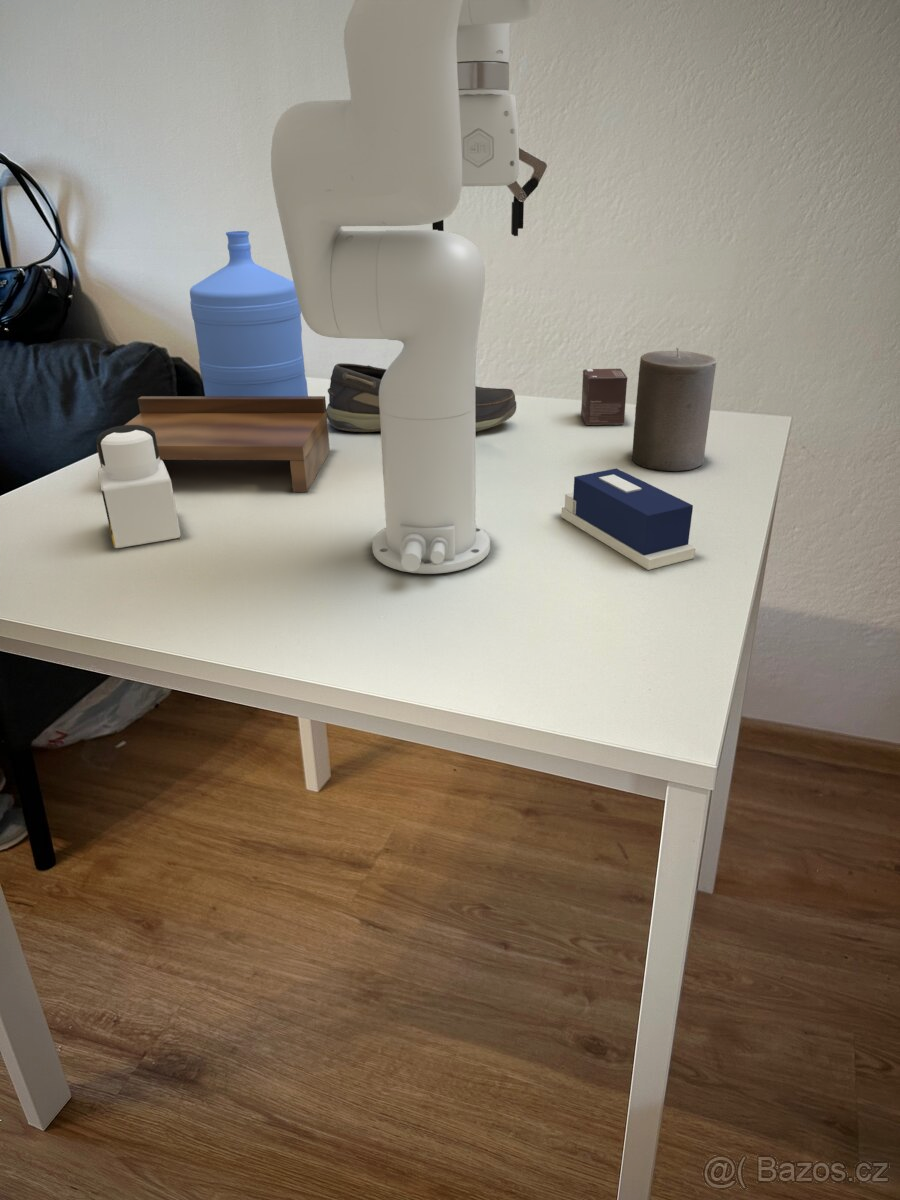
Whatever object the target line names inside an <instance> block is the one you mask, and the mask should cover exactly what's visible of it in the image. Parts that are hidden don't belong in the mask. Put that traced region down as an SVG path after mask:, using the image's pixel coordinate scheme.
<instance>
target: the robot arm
mask: <svg viewBox="0 0 900 1200" xmlns="http://www.w3.org/2000/svg"><path fill="white" fill-rule="evenodd" d="M545 3H546V0H354V1H353V4H352V6H351V8H350V11H349V13H348V15H347V18H346V20H345V21H346V22H345V26H344V30H343V49H344V54H345V60H346V69H347V76H348V85H349V93H350V99H331V100H310V101H304V102H300V103H296V104H294V105H292V106H290V107H289V108H287V109H286V110H285V111H283V113H282V114H281V115H280V117H279V118H278V120H277V122H276V124H275V127H274V129H273V135H272V139H271V150H270V168H271V169H270V171H271V178H272V179H271V180H272V186H273V187H272V188H273V192H274V197H275V198H274V199H275V203H276V207H277V212H278V217H279V221H280V227H281V229H282V230H281V231H282V235H283V241H284V244H285V248H286V249H285V250H286V255H287V258H288V263H289V268H290V273H291V277H292V281H293V282H294V286H295V290H296V295H297V299H298V303H299V306H300V310H301V316H302V317H303V320H304V322H305V324H306V325H307V327H309V328H310V330H311V331H313V332H314V333H315V334H317V335H319V336H322V337H327V338H333V339H334V338H335V339H357V340H358V339H361V340H363V339H364V340H373V339H374V340H388V341H398V342H401V343H402V344H403V347H402V349H401V350H400V352H399V353H398V355H397V356H396V357H395V358H394V359H393V361H392V362H391V363H390V364H389V366H388V367H387V368H386V369H387V370H386V372H385V373H384V375H383V377H382V380H381V383H380V388H379V408H380V425H381V431H380V440H381V441H380V442H381V443H380V444H381V455H382V456H381V459H382V477H383V496H384V514H385V527H384V528H382V529H381V530H380V531H378V532H377V533H376V534H375V536H374V537H373V539H372V541H371V544H372V554H373V556H374V557H375V559H376V560H377V561H378V562H379V563H381V564H383V565H384V566H386V567H388V568H391V569H393V570H397V571H400V572H404V573H405V572H406V573H411V574H419V575H420V574H421V575H422V574H423V575H437V574H444V573H445V574H446V573H453V572H457V571H462V570H464V569H468V568H470V567H472V566H475V565H477V564H478V563H480V562H482V561H483V560H485V558H486V557H487V556H488V555H489V553H490V551H491V538H490V535H489V534H488V533H487V531H486V530H485V529H483V528H482V527H481V526H478V525H477V524H476V523H477V521H476V517H477V516H476V511H477V510H476V509H477V507H476V503H477V502H476V501H477V499H476V490H477V488H476V487H477V486H476V483H477V482H476V481H477V479H476V476H477V475H476V474H477V473H476V470H477V469H476V467H477V466H476V465H477V464H476V461H477V460H476V456H477V455H476V453H477V452H476V450H477V449H476V432H475V386H476V379H477V376H476V375H477V373H476V372H477V350H478V343H479V342H478V341H479V331H480V323H481V316H482V309H483V304H484V303H483V302H484V297H485V296H484V295H485V286H486V268H485V261H484V259H483V256H482V254H481V251H480V250H479V248H478V247H477V246H476V244H474V242H472V241H471V240H470V239H468V238H467V237H465V236H463V235H461V234H458V233H454V232H450V231H445V229H444V220H446V219H447V218H449V217H450V216H451V215H452V214H453V212H454V211H455V210H456V209H457V206H458V204H459V202H460V200H461V199H460V198H461V193H462V187H502V186H503V187H504V186H506V187H507V188H508V190H509V191H510V192H511V193H512V195H513V201H511V217H510V218H511V221H510V222H511V225H510V233H511V235H512V236H513V237H518V236H519V230H521V229H522V230H523V229H524V215H525V213H524V211H525V210H524V208H525V201H526V200H527V199H528V197H529V196H530V195H531V194H532V193H533V192H534V191H535V190H536V189H537V188H538V187H539V183H540V182H541V180H542V179H543V176H544V174H545V172H546V170H547V168H548V165H547V162H546V161H544V160H542V159H540V158H539V157H537V156H535V155H534V154H532V153H530V152H528V151H526V150H525V149H523V148H522V147H520V138H519V137H520V136H519V133H520V132H519V118H518V117H519V116H518V109H517V108H518V107H517V106H518V105H517V101H516V100H517V99H516V95H515V94H510V91H509V90H510V40H511V39H510V37H511V35H510V33H511V32H510V31H511V24H523V23H528V22H530V21H532V20H534V19H536V18H537V17H538V16H539V15H540V13H541V12H542V10H543V8H544V6H545ZM520 162H522V163H523V164H525V165H527V166H529V167H531V168H532V173H531V176H530V178H529V179H528V180H527V181H526V183H524V184H523V185H522V187H521V185H520V184H519V183H518V181H517V180H518V178H519V173H520V172H519V170H520ZM430 224H432V226H431V227H432V229H399V230H398V229H388V230H387V229H386V230H343V228H342V227H408V226H411V227H412V226H422V225H430Z"/></svg>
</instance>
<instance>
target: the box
mask: <svg viewBox="0 0 900 1200" xmlns="http://www.w3.org/2000/svg"><path fill="white" fill-rule="evenodd" d="M581 386H582V387H581V409H580V416H581V417H582V419H583V422H584V424H585V425H586V426H602V425H603V426H605V425H606V426H607V425H616V426H617V425H624V424H625V416H626V415H625V413H626V400H627V387H628V376H627V375H626V374H625V372H624V371H623V370H622V368H586V369H583V370H582V385H581Z"/></svg>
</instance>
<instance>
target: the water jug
mask: <svg viewBox="0 0 900 1200" xmlns="http://www.w3.org/2000/svg"><path fill="white" fill-rule="evenodd" d="M225 236H226V237H227V250H228V257H229V260H228V263H227V264H226V265H225V266H223V267H222V268H220V269H219V270H217V271H215V272H214V273H212V274H210V275H208V276H206V277H205V278H204V279H202V280H200V281H199V282H197V283H195V284H194V285H192V286H191V287H190V289H189V297H190V302H189V303H190V311H191V316H192V320H193V323H194V331H195V338H196V345H197V351H198V357H199V358H198V362H199V364H198V365H199V370H200V372H199V373H200V377H201V378H202V384H203V390H204V391H203V392H204V396H309V393H308V392H309V391H308V383H307V382H308V380H307V378H306V373H305V372H306V369H305V358H304V350H303V341H302V335H303V334H302V332H303V328H302V317H301V316H302V312H301V310H300V306H299V303H298V299H297V295H296V290H295V286H294V282H293V280H291V279H289V278H287V277H285V276H282V275H281V274H278V273H276V272H274V271H272V270H269V269H267V268H265V267H264V266H261V265H259V264H257V263H255V262H254V260H253V258H252V252H251V249H252V246H251V243H250V240H249V236H250V231H248V230H235V231H234V230H233V231H227V232H225Z"/></svg>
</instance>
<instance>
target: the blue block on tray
mask: <svg viewBox="0 0 900 1200" xmlns="http://www.w3.org/2000/svg"><path fill="white" fill-rule="evenodd" d="M573 478H574V479H573V492H570V493H565V494H564V506H563V507H562V508H561V514H560V515H561V518H562V519H563V520H565V521H566V522H569V523H570V524H571V525H574V526H575V527H577V528H578V529H580V530H581V531H583V532H585V533H586V534H588V535H590V536H592V537H593V538H595V539H596V540H598V541H600V542H601V543H603V544H604V545H606V546H608V547H610V548H611V549H613V550H615V551H616V552H618V553H619V554H621V555H623V556H624V557H626V558H627V559H629V560H631V561H632V562H634V563H635V564H637V565H638V566H641V567H642V568H644V569H646V570H647V571H651V570H654V569H657V568H662V567H666V566H669V565H673V564H677V563H680V562H685V561H688V560H692V559H695V554H696V547H695V546H693V545H691V544H689V541H690V533H691V526H692V525H691V524H692V516H693V508H694V505H693V504H691V503H689V502H687V501H685V500H683V499H682V498H679V497H677V496H675V495H672V494H671V493H669V492H666V491H664V490H663V489H661V488H659V487H656V486H654V485H652V484H650V483H648V482H646V481H643V480H642V479H640V478H637V477H635V476H633V475H631V474H629V473H628V472H625V471H623V470H622V469H619V468H618V467H617V468H611V469H606V470H601V471H596V472H591V473H587V474H581V475H576V476H574V477H573Z"/></svg>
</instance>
